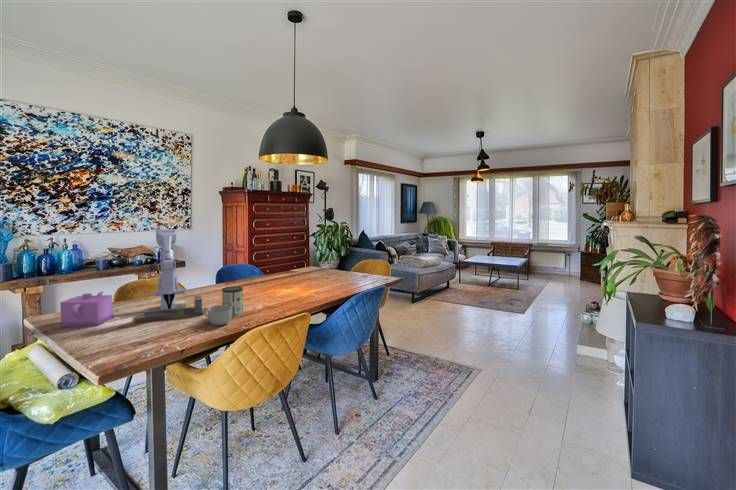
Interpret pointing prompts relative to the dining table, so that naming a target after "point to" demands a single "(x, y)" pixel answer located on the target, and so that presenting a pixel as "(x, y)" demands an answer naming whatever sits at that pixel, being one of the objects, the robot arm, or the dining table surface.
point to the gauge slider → (179, 304)
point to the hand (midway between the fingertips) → (169, 308)
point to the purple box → (86, 310)
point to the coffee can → (233, 299)
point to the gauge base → (172, 312)
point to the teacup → (218, 314)
